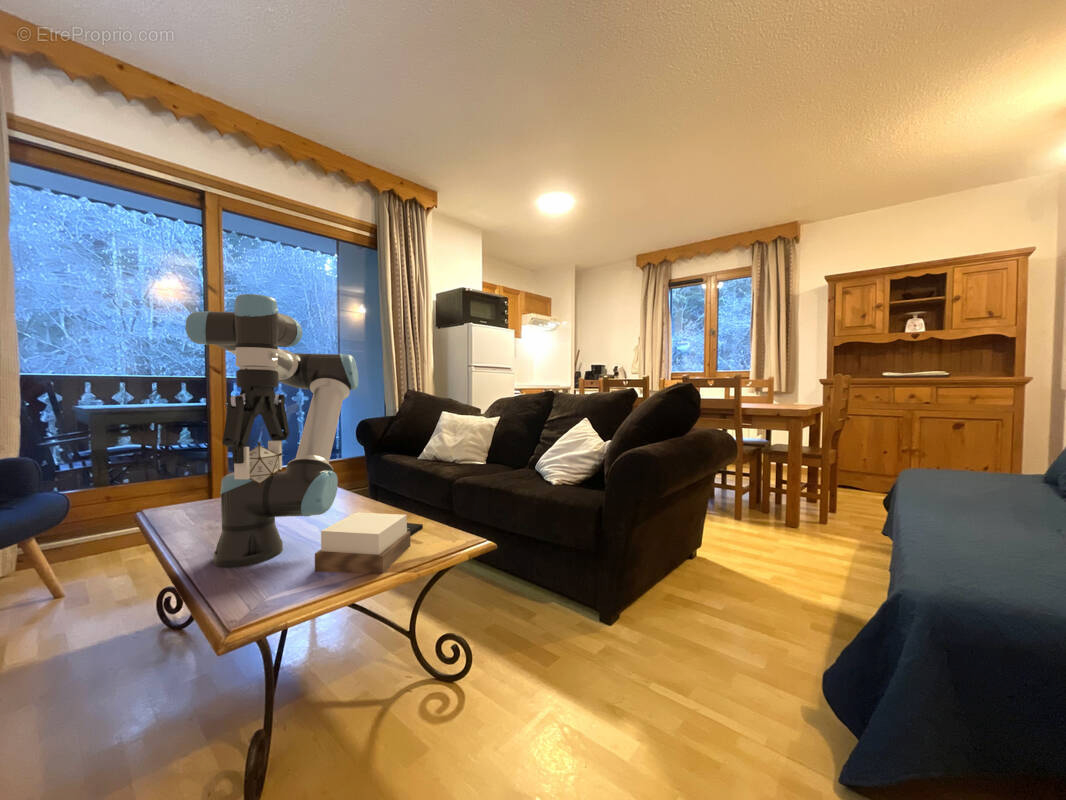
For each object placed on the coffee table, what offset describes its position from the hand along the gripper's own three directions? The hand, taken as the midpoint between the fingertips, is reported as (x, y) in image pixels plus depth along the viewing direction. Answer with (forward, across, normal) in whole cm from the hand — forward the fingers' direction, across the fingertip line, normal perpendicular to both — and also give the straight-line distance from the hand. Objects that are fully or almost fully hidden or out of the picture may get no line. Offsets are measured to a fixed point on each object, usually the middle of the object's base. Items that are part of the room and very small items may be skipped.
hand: (259, 473), depth 89 cm
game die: (+3, 0, 0) cm, 3 cm away
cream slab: (+21, +19, -14) cm, 32 cm away
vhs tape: (+27, +35, -16) cm, 47 cm away
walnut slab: (+26, +18, -14) cm, 35 cm away
